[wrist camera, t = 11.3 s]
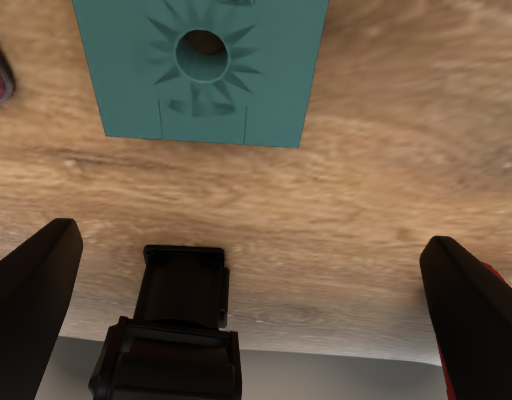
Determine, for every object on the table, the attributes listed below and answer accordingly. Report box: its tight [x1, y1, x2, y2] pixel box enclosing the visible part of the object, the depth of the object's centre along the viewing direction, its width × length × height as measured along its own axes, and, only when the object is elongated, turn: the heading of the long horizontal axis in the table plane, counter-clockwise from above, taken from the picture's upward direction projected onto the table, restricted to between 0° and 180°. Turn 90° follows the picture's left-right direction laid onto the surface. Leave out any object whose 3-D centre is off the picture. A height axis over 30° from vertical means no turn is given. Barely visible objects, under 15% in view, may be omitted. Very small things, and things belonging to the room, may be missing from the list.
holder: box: [72, 0, 329, 148], centre depth 17 cm, size 10×9×3 cm
